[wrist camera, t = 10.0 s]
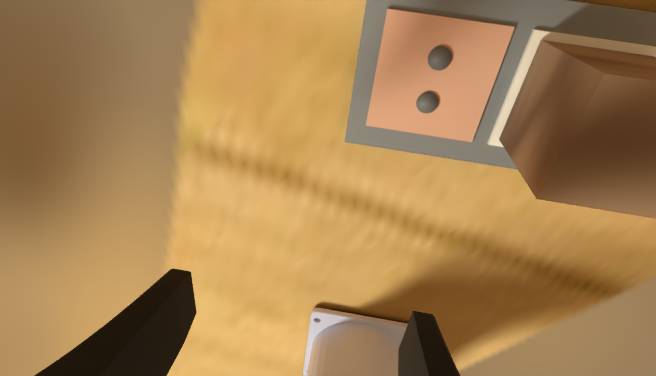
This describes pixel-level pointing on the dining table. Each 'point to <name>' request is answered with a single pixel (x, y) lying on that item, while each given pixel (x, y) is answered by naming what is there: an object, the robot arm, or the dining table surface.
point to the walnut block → (587, 128)
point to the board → (467, 67)
